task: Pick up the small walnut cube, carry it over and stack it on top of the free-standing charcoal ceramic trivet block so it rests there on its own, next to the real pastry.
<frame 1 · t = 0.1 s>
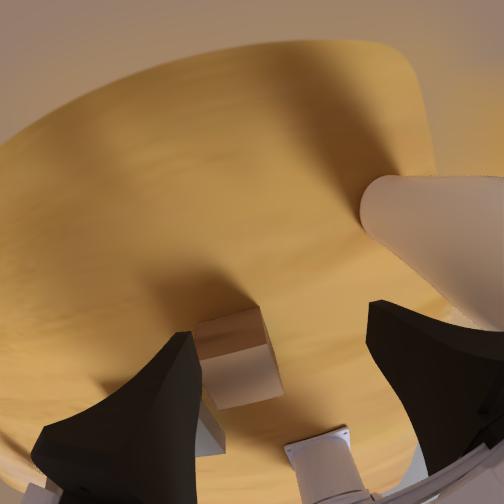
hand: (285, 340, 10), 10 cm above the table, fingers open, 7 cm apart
coffeepot: (67, 481, 32), on the table
walnut cube: (237, 339, 22), on the table
drinking glass: (384, 208, 20), on the table
trivet block: (171, 415, 25), on the table
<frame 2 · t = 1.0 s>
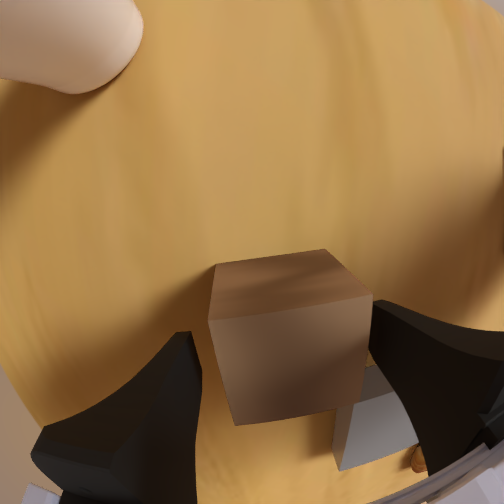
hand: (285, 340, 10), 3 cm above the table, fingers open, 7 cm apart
walnut cube: (276, 304, 13), on the table
pastry: (436, 436, 21), on the table
drinking glass: (97, 49, 9), on the table
trivet block: (389, 397, 17), on the table
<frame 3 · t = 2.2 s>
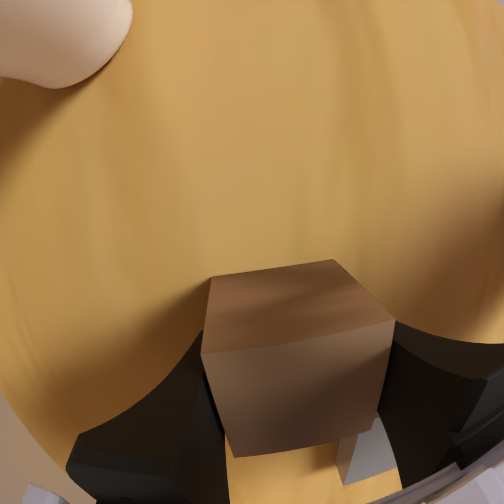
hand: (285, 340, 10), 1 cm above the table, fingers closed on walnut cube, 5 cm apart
walnut cube: (279, 321, 12), on the table, touching gripper
drinking glass: (83, 40, 8), on the table
trivet block: (396, 409, 16), on the table
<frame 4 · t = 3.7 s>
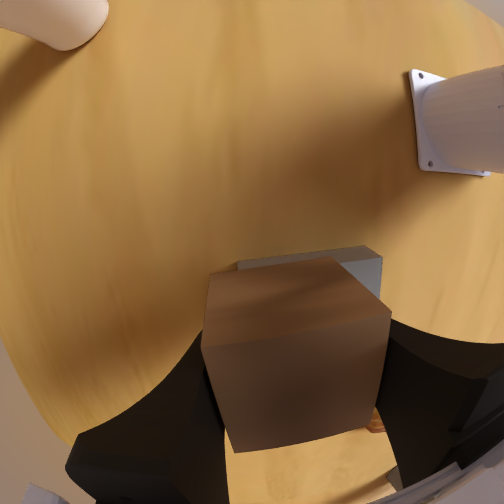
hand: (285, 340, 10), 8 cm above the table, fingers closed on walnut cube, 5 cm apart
coffeepot: (411, 464, 32), on the table
walnut cube: (277, 318, 12), point 7 cm above the table, touching gripper
pastry: (390, 389, 24), on the table
drinking glass: (81, 25, 12), on the table
trivet block: (305, 309, 20), on the table
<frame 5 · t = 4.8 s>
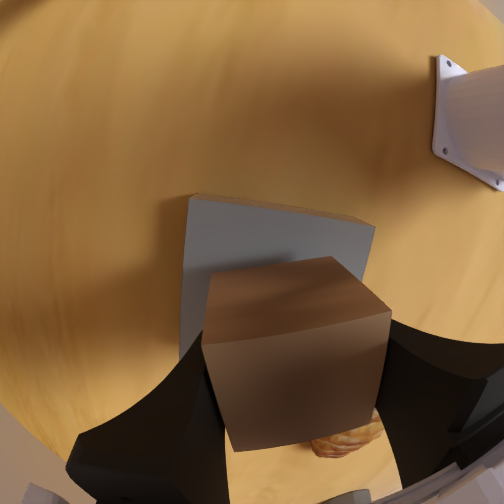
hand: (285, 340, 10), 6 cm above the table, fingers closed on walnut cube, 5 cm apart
coffeepot: (347, 500, 29), on the table
walnut cube: (278, 317, 12), point 4 cm above the table, touching gripper
pastry: (348, 410, 21), on the table
trivet block: (265, 279, 17), on the table
when the fingers open (6 cm above the table, at t = 5.4 s): walnut cube drops 2 cm, resting on trivet block.
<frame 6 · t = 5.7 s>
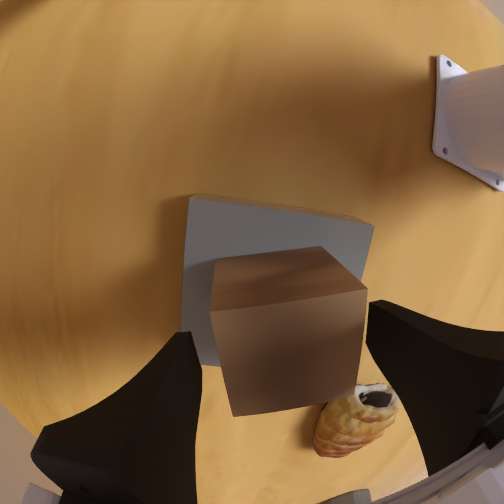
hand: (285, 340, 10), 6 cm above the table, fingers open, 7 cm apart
coffeepot: (347, 499, 29), on the table
walnut cube: (273, 300, 14), point 2 cm above the table, touching trivet block
pastry: (350, 409, 21), on the table
trivet block: (265, 278, 17), on the table, touching walnut cube
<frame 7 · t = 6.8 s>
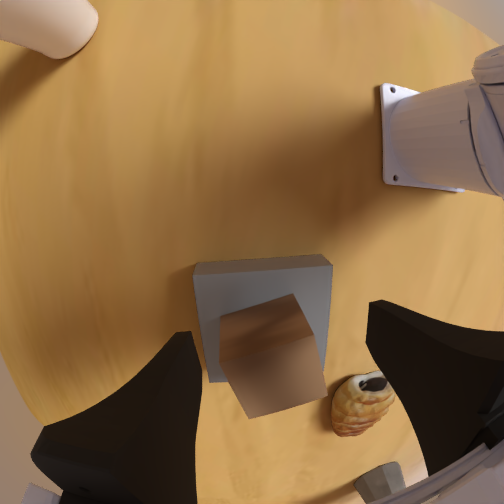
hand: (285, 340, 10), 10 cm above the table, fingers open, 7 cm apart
coffeepot: (379, 473, 34), on the table
walnut cube: (267, 334, 19), point 2 cm above the table, touching trivet block
pastry: (357, 395, 26), on the table
drinking glass: (74, 34, 13), on the table
trivet block: (261, 311, 22), on the table, touching walnut cube
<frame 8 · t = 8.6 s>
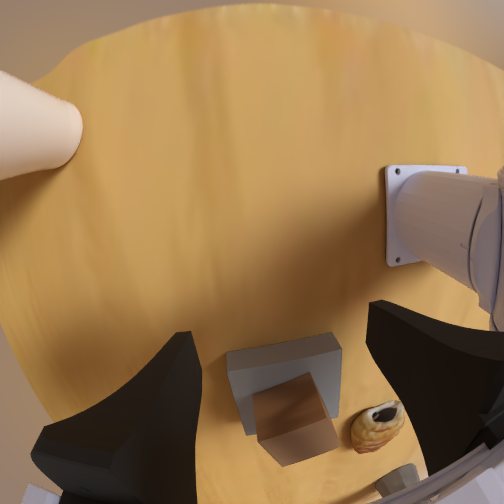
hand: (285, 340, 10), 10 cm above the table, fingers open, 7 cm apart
coffeepot: (397, 474, 36), on the table
walnut cube: (290, 400, 21), point 3 cm above the table
pastry: (373, 419, 28), on the table
drinking glass: (60, 135, 16), on the table
trivet block: (284, 377, 24), on the table
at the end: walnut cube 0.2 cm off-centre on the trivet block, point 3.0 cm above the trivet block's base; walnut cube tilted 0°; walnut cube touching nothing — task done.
